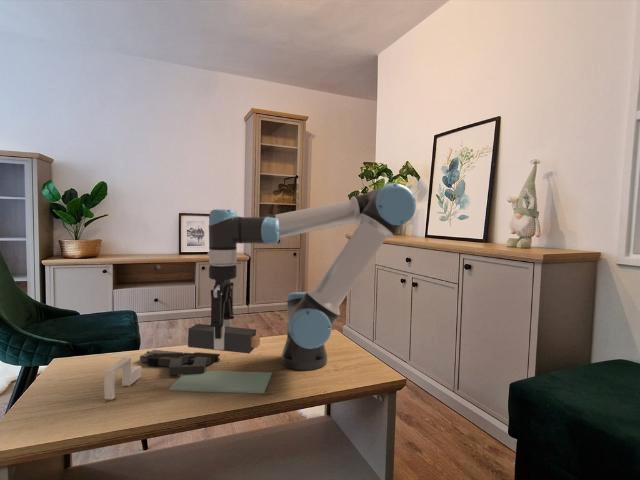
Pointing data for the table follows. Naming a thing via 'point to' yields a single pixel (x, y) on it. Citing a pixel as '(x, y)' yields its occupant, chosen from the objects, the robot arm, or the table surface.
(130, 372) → the white arch
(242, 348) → the dark grey rectangular bar
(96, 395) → the table surface
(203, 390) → the mat
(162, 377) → the table surface
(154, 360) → the pistol
